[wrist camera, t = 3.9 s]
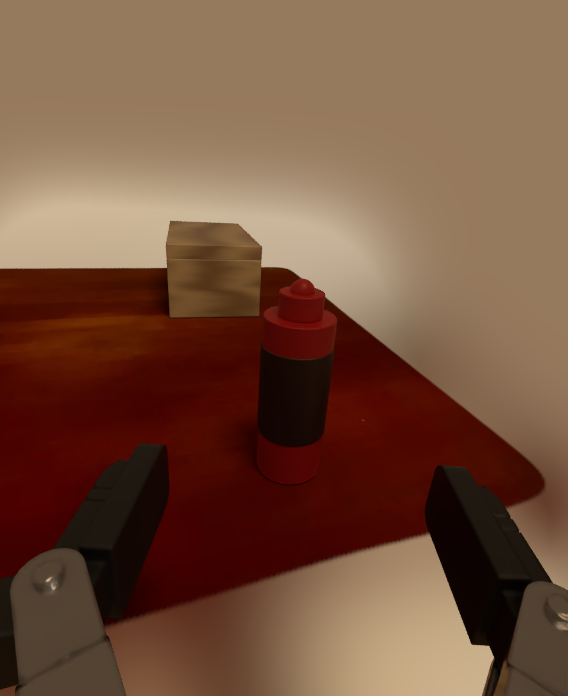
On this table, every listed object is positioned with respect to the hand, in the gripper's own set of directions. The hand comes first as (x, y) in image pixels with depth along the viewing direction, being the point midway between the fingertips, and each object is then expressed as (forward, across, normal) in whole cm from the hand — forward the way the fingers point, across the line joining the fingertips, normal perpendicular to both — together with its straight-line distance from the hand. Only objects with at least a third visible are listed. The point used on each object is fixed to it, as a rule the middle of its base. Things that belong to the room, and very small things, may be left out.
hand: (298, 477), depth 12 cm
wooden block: (+43, +11, +7) cm, 45 cm away
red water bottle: (+9, 0, +7) cm, 11 cm away
